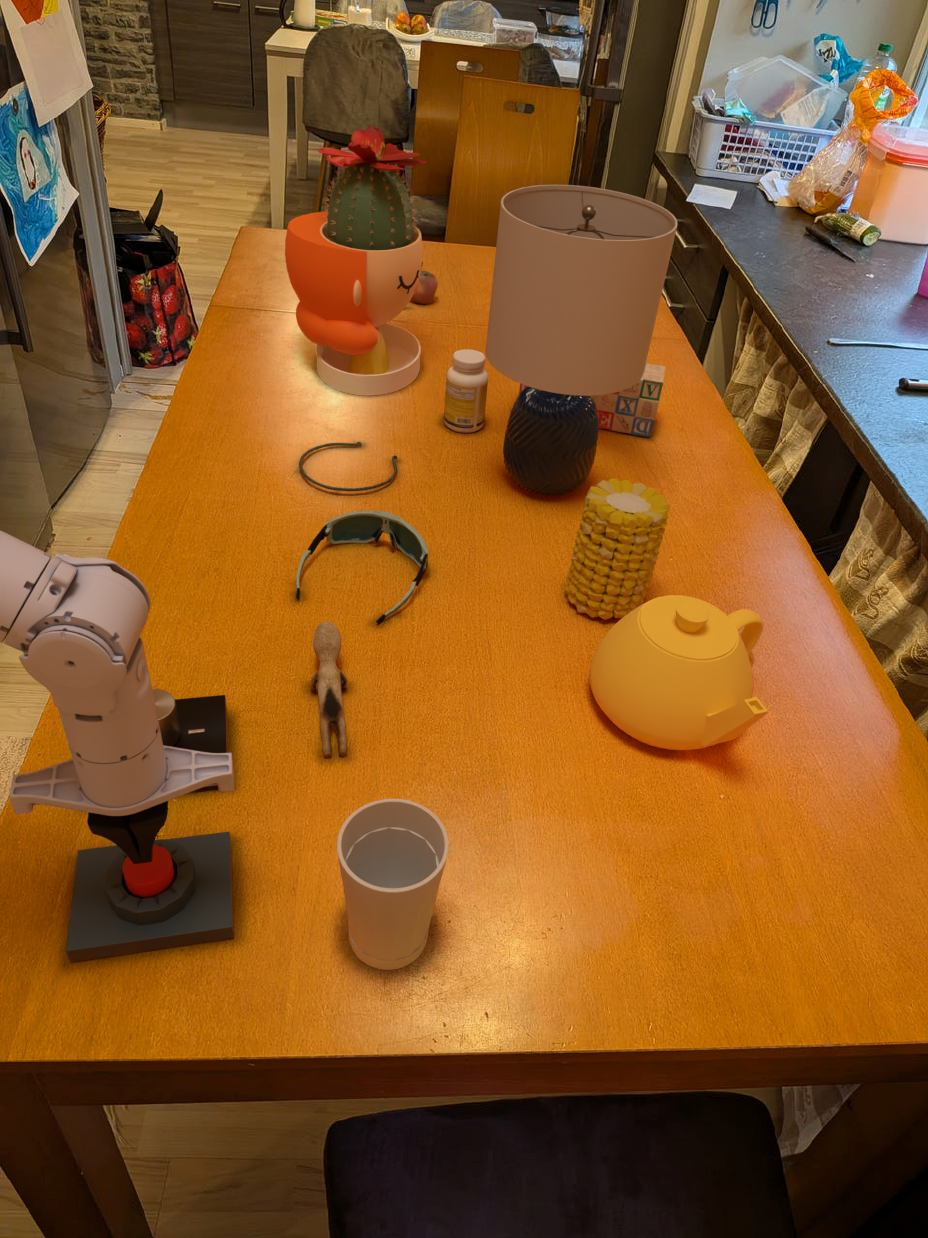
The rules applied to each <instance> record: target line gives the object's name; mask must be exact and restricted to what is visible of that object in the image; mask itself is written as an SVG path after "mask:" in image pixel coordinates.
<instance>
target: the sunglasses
mask: <svg viewBox="0 0 928 1238" xmlns="http://www.w3.org/2000/svg"><path fill="white" fill-rule="evenodd" d="M383 533H384V534H387V535H388V537H389V541H390V546H391V548H393V549H395V548H396V547H397V548H398V549H399V551H401V553H402V554H403V555H405V556H406V557H408V558H409V559H411V560H412V561H413V562H414V563H415V564H416V565H417V566H418V567H419V569H418V572H417V573H416V576H415V578H414V579H413V580H412V581H411V585H410V588H409V589H408V591H407V592H406V594H405V595H404V596H403V598H401V600H400V601H399V602H398V603H396V605H395V606H393V607H392V608H391V609H389V610H387V611H386V612H385V613H383V614H382V615H380V616H379V617H378V618H377V620H375V623H376V624H378V625H380V624H381V623H383V622H384V621H385V620H386V619H387V618H389V617H391V616H392V615H394V613H396V612H398V611H399V610H400V609H401V608H402V607H403V606H404V605H405V604H406V603H407V602H408V601H409V600H410V598H411V597H412V596H413V594H414V591H415V589H416V587H419V585H420V584H421V581H422V580H423V579H424V576H425V573H426V571H427V569H428V567H429V549H428V545H427V543H426V541H425V540H424V538H423V536H422V535H421V534H420V532H419V531H418V530H416V528H414V527H413V525H411V524H410V523H409V522H407V521H406V520H404V519H402V517H401V516H398V515H395V514H392V513H390V512H387V511H383V510H378V509H377V510H376V509H375V510H356V511H350V512H346V513H343V514H340V515H337V516H335V517H332V518H330V519H329V520H327V521H325V522H324V526H323V527H322V528H321V529H320V530H319V532H318V533H317V535H315V537H314V538H313V540H312V541H311V543H310V545H309V546H308V548H307V550H306V551H305V552H304V553H303V554H302V556H301V559H300V562H299V565H298V568H297V572H296V595H295V598H296V599H297V600H298V599H300V595H301V575H302V572H303V569H304V566H305V564H306V562H307V560H309V558H310V557H311V555H313V554H314V552H315V551H316V549H317V548H318V546H319V545H320V543H321V542H322V541H323V540H325V538H326V542H328V543H330V544H333V545H338V544H349V543H351V544H355V543H356V544H367V543H370V542H371V543H372V542H374V543H378V542H379V541H380V539H381V537H382V535H383Z"/></svg>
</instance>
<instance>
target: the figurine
mask: <svg viewBox="0 0 928 1238" xmlns="http://www.w3.org/2000/svg"><path fill="white" fill-rule="evenodd" d="M312 647H313V652H314V654H315V656H316V658H317V659H318V661H319V667H318V670H317V671H315V672H314V674H313V675H312V677H311V681H310V686H309V688H310V690H311V691H315V690H316V689H317V695H318V697H317V698H318V708H319V726H320V727H319V729H320V734H321V738H322V740H321V741H322V754H323V757H325V758H330V757H332V755H333V751H332V742H331V731H332V724H333V726H334V730H335V733H336V738H337V739H336V740H337V747H338V748H337V749H338V754H339V755H340V756H342V757H345V756H346V755H347V752H348V751H347V750H348V749H347V748H348V747H347V744H348V743H347V725H346V724H347V723H346V719H345V712H344V702H343V700H344V699H343V692H342V689H346V688H347V685H348V677H347V676H346V674H345V673H344V671H342V670H340V669H339V668H338V666H337V661H338V659H339V657H340V655H341V652H342V636H341V632H340V631H339V629H338V627H337V626H336V625H335V624H334V623H332V622H331V621H324V622H320V624H318V625H317V626H316V628H315V630H314V634H313V640H312Z"/></svg>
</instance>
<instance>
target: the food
mask: <svg viewBox="0 0 928 1238" xmlns="http://www.w3.org/2000/svg"><path fill="white" fill-rule="evenodd" d="M584 501H585V504H584V505H583V508H582V510H581V518H580V520H579V528H578V529H577V531H576V536H575V544H574V546H573V547H572V550H573V552H572V554H571V559H570V561H571V564H570V566H569V568H568V569H569V571H568V573H567V578H565V580H566V586H565V590H564V591H565V592H566V595H567V599H568V600H569V602H570V604H571V605H575V608H576V611H577V613H579V614H586V615H588V616H589V617H590V618H592V619H593V618H597V617H599V618H600V619H602V620H603V621H606V620H609V619H611V618H613V617H614V618H615V619H622V618H623V617H624V616H625V615H627V614H628V613H630V612H631V611H633V610H634V609H636V608H637V607H639V606H640V605H642V604H644V599H645V598H646V594H647V593H648V589H649V588H650V586H651V580H652V578H653V575H654V574H653V571H654V570H655V565H656V564H657V561H658V559H659V558H658V555H659V550H660V547H661V544H662V542H663V538H664V535H665V531H666V527H667V525H668V523H667V521H668V519H669V513H668V512H669V510H670V505H669V504H668V503H667V502H666V495H663V494H659V493H657V490H656V489H654V488H653V487H647V486H646V485H644V484H643V483H642V482H636V483H632V482H630V481H629V480H628V479H625V480H621V481H620V480H619V479H617V478H616V477H614V478H610V479H608V480H605V479H602V480H600V482H598V483H597V484H596V485H595V486H593V485H590V488H589V489H588V491H587V494H586V496H585V500H584Z"/></svg>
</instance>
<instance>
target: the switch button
mask: <svg viewBox="0 0 928 1238" xmlns="http://www.w3.org/2000/svg"><path fill="white" fill-rule="evenodd" d="M123 874H124V878H125V881H126V885H127V888H128V889H129V891H130V892H131V893H132V894H134V895H136V896H139V897H153V896H156V895H158V894H160V893H162V892H164V891H165V890H166V889H167V888H168V887H169V886H170V885H171V883H172V881H173V878H174V868H173V864H172V859H171V856H170V854H169V852H168V851H167V850H166V849H164V848H163V847H160V846H157V845H153V857H152V861H151V862H148V863H140V864H133V863H132V861H131V860H130V859H129V857H127V858H126V860H125V862H124V864H123Z"/></svg>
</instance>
